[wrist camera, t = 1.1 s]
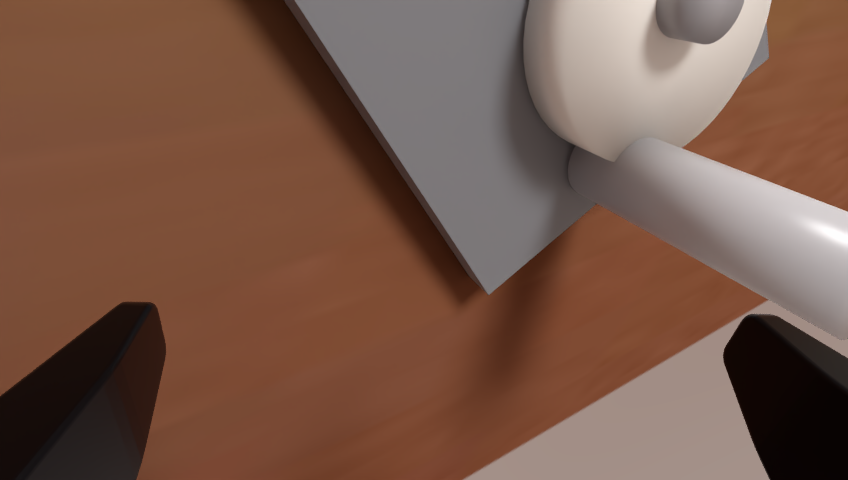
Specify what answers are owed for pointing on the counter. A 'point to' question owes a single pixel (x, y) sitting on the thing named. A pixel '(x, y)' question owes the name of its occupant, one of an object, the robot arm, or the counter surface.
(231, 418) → the counter surface
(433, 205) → the stand
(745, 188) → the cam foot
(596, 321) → the counter surface
